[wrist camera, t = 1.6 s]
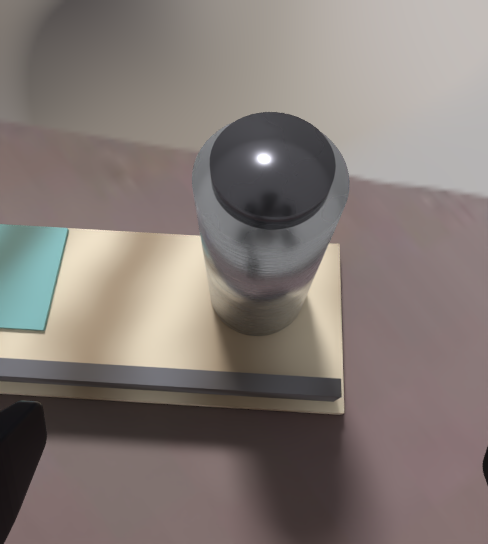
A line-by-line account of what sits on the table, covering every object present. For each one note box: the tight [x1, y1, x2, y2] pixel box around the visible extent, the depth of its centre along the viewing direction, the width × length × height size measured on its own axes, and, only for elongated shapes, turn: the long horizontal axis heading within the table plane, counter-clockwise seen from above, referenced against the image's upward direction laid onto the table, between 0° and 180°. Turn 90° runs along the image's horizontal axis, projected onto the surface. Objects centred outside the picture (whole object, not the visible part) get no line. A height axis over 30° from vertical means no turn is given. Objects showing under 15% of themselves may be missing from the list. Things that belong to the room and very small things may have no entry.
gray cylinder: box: [192, 112, 349, 336], centre depth 18 cm, size 5×5×11 cm
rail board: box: [0, 224, 344, 415], centre depth 23 cm, size 23×9×3 cm, turn 87°
